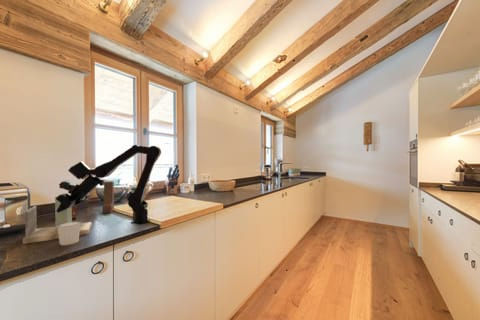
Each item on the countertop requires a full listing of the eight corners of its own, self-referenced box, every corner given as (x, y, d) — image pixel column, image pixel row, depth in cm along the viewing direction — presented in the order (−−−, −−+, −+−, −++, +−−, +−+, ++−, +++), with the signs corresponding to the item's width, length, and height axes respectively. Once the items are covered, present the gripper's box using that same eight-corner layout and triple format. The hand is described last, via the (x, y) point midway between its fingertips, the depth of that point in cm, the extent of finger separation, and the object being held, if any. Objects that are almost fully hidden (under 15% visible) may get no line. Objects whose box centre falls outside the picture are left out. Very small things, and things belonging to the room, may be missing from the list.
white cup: (54, 247, 75) (54, 227, 75) (61, 240, 81) (61, 222, 81) (77, 244, 78) (77, 225, 78) (83, 237, 84) (82, 220, 84)
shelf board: (91, 226, 98) (91, 200, 98) (88, 234, 88) (88, 205, 88) (33, 233, 88) (33, 205, 88) (22, 244, 78) (22, 212, 78)
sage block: (71, 224, 99) (71, 194, 99) (67, 226, 95) (66, 196, 95) (60, 224, 98) (60, 195, 98) (55, 227, 94) (55, 196, 94)
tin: (78, 219, 110) (77, 203, 110) (70, 220, 107) (70, 204, 107) (66, 214, 118) (66, 200, 118) (59, 216, 115) (59, 201, 115)
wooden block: (111, 213, 121) (111, 182, 121) (102, 214, 119) (102, 182, 119) (113, 209, 129) (113, 180, 129) (105, 210, 128) (105, 181, 127)
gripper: (82, 173, 106) (57, 195, 104) (61, 176, 88) (30, 203, 86) (100, 187, 108) (76, 210, 106) (82, 193, 90) (52, 221, 88)
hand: (60, 210), depth 96 cm, fingers closed on sage block, 4 cm apart
